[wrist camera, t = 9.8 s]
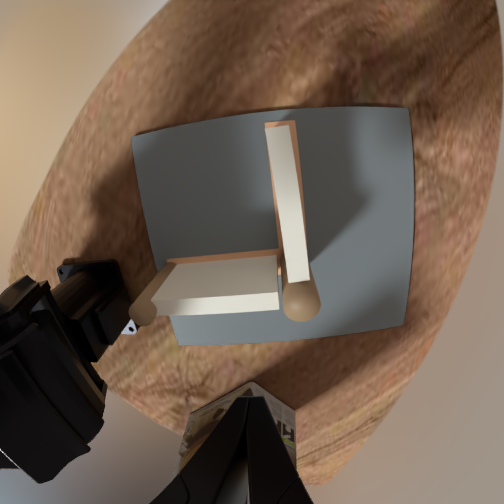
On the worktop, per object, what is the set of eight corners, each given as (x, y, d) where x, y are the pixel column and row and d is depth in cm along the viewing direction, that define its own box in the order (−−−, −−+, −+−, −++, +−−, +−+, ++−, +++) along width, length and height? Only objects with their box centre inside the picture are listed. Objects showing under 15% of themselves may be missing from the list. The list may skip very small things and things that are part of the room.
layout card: (180, 342, 22) (178, 346, 22) (133, 137, 17) (130, 137, 17) (401, 322, 21) (403, 326, 20) (405, 108, 15) (409, 108, 15)
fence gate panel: (300, 245, 18) (309, 280, 13) (284, 247, 18) (288, 283, 13) (283, 131, 16) (288, 125, 11) (266, 134, 16) (264, 128, 11)
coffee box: (250, 377, 23) (229, 559, 8) (296, 410, 25) (301, 565, 10) (186, 413, 26) (147, 550, 11) (231, 440, 27) (213, 567, 12)
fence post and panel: (166, 283, 20) (134, 329, 15) (160, 259, 19) (124, 300, 14) (308, 271, 19) (321, 319, 14) (306, 245, 18) (320, 287, 13)
